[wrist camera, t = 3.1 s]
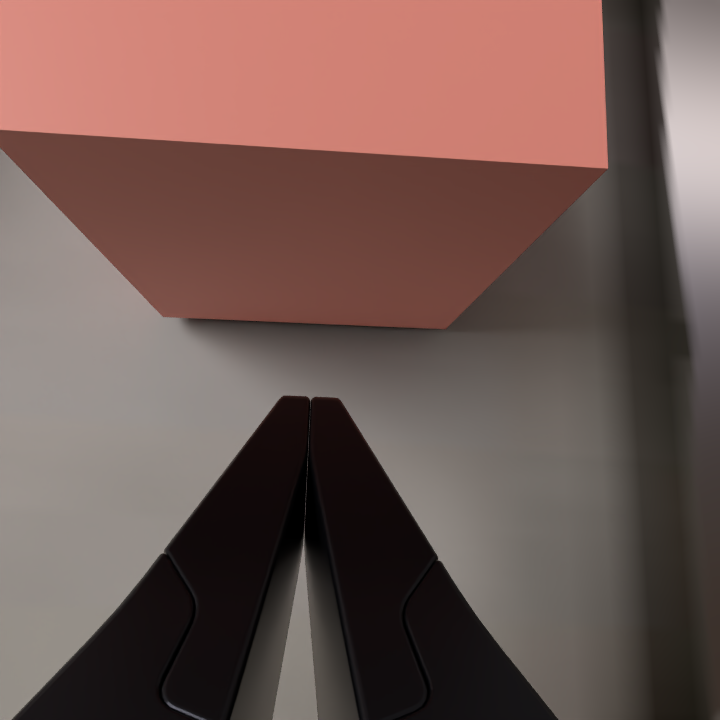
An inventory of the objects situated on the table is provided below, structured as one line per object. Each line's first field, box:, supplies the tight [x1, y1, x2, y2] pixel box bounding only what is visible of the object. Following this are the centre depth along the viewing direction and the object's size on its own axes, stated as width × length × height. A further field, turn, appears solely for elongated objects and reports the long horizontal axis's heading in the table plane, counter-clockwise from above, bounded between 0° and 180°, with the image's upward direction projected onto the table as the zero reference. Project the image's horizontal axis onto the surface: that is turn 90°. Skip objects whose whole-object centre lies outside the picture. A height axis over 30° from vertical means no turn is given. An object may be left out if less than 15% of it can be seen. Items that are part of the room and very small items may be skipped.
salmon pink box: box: [0, 0, 608, 329], centre depth 12 cm, size 9×7×9 cm
